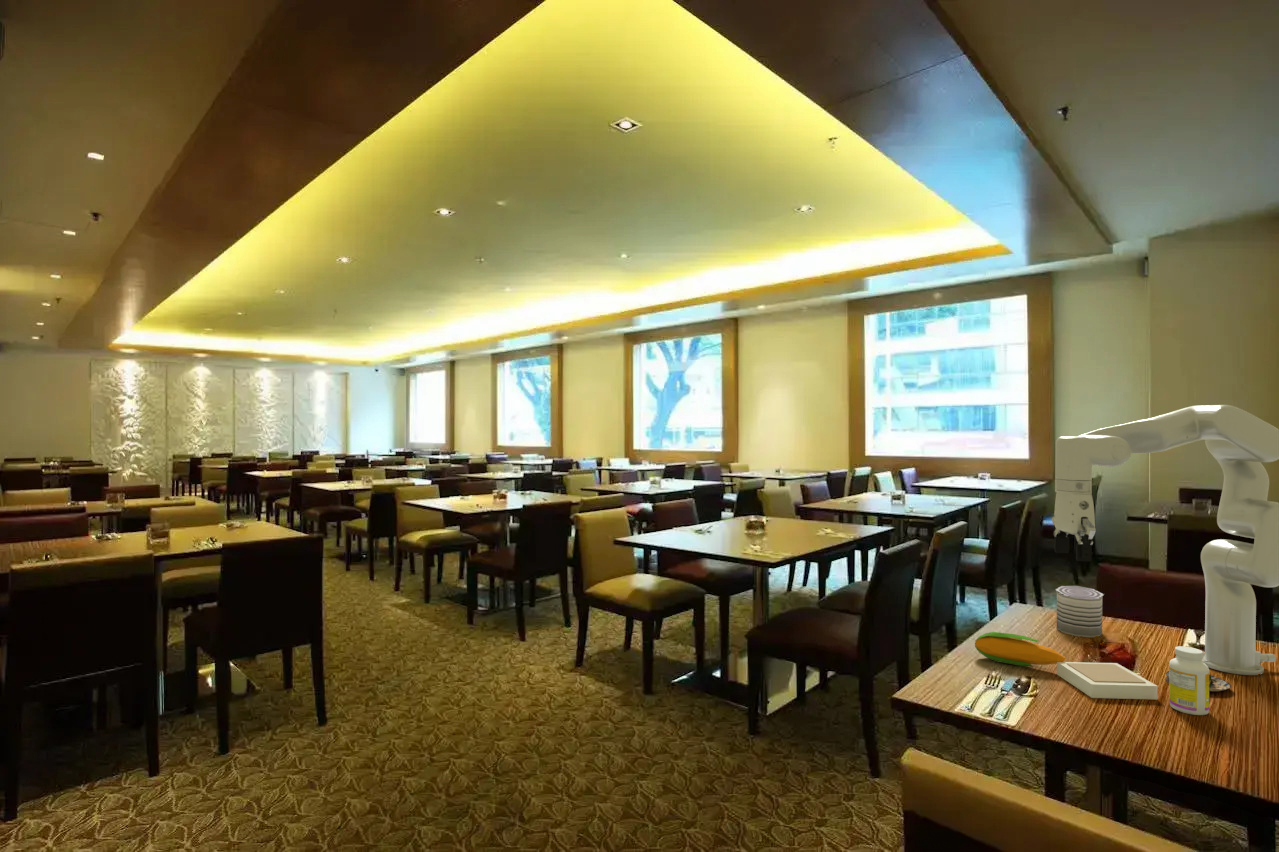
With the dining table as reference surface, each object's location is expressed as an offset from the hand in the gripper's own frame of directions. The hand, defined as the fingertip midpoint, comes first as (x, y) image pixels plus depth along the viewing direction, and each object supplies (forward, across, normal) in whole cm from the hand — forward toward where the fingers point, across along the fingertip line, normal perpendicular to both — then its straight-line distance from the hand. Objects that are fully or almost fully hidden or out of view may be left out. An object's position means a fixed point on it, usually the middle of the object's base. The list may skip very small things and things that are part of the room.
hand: (1072, 556), depth 166 cm
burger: (+29, -6, -25) cm, 38 cm away
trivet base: (+28, -9, -3) cm, 30 cm away
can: (+28, +34, -20) cm, 48 cm away
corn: (+28, +4, +10) cm, 30 cm away
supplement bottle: (+28, -20, -13) cm, 37 cm away
